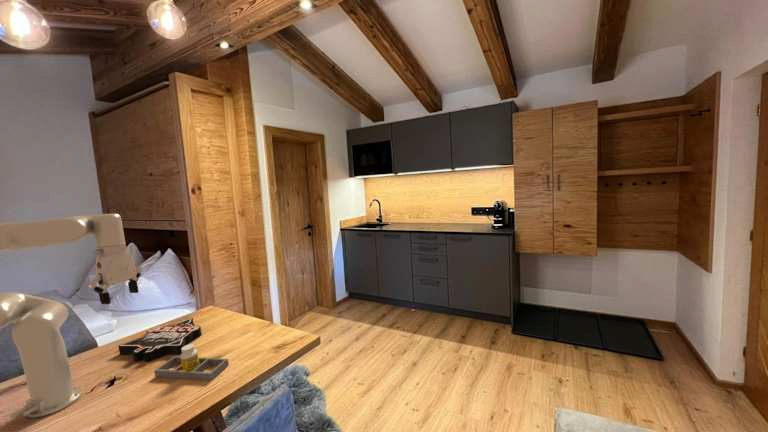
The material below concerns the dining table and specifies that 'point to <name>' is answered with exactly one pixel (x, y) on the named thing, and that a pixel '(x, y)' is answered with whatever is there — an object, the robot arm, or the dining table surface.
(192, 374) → the slot rack
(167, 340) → the wall plaque
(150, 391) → the dining table surface
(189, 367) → the supplement bottle
